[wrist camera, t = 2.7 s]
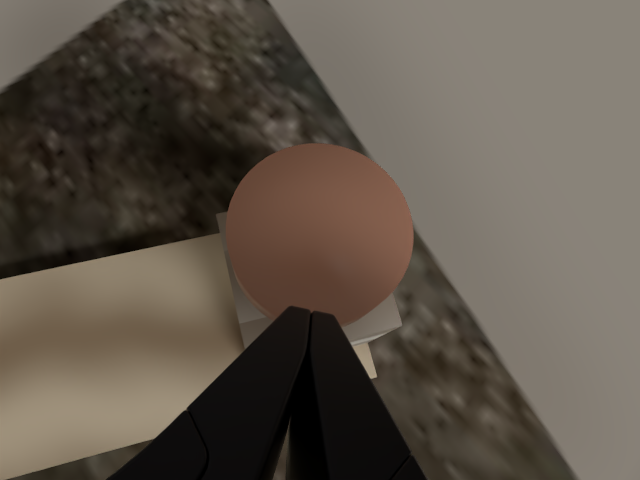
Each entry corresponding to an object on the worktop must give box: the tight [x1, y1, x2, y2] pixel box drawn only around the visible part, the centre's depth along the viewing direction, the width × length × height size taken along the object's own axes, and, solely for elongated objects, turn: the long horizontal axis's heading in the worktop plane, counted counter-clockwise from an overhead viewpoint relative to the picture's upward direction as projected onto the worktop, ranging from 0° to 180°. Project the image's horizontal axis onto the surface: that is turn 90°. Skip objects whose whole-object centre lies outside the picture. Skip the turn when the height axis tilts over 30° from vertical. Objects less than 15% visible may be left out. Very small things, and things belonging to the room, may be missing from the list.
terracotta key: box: [226, 143, 413, 327], centre depth 14 cm, size 5×5×3 cm
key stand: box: [0, 212, 402, 480], centre depth 18 cm, size 8×22×8 cm, turn 105°
